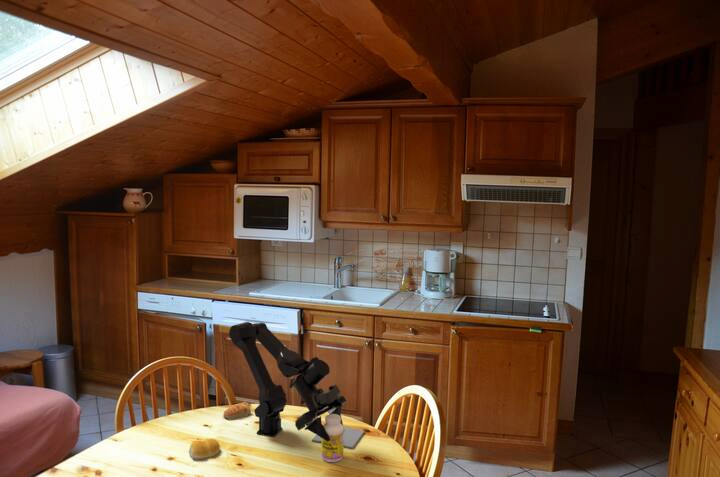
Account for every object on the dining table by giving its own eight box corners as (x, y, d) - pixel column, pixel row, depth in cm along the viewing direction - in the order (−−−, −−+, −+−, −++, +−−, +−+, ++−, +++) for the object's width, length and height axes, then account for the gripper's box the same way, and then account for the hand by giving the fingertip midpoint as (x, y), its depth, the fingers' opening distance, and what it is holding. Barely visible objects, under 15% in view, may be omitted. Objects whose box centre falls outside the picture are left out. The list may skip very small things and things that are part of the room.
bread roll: (223, 454, 159) (223, 442, 159) (193, 462, 154) (193, 449, 154) (214, 443, 166) (214, 431, 166) (186, 450, 161) (186, 438, 161)
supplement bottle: (317, 460, 156) (318, 419, 155) (326, 450, 162) (327, 410, 161) (338, 465, 154) (338, 423, 152) (346, 454, 160) (347, 414, 159)
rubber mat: (311, 441, 168) (311, 439, 168) (326, 425, 179) (326, 423, 179) (352, 449, 163) (352, 447, 163) (364, 432, 175) (364, 430, 175)
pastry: (228, 422, 181) (228, 411, 180) (219, 415, 186) (219, 405, 185) (252, 414, 187) (252, 404, 187) (243, 408, 192) (243, 398, 192)
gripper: (302, 388, 150) (331, 435, 145) (342, 370, 165) (369, 412, 160) (282, 407, 156) (310, 453, 150) (322, 388, 171) (349, 429, 166)
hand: (336, 436), depth 157 cm, fingers closed on supplement bottle, 7 cm apart
